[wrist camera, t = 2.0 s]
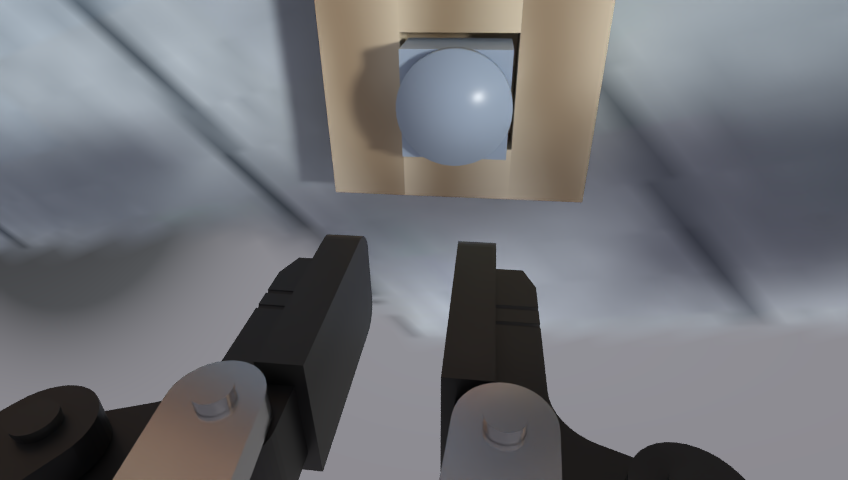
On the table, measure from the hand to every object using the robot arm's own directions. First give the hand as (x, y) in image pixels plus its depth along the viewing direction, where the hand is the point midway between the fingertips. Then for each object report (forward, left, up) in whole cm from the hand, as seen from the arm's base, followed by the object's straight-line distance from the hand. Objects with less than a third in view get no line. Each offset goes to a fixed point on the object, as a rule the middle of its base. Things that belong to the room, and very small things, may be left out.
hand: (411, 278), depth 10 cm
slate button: (0, 0, -15) cm, 15 cm away
